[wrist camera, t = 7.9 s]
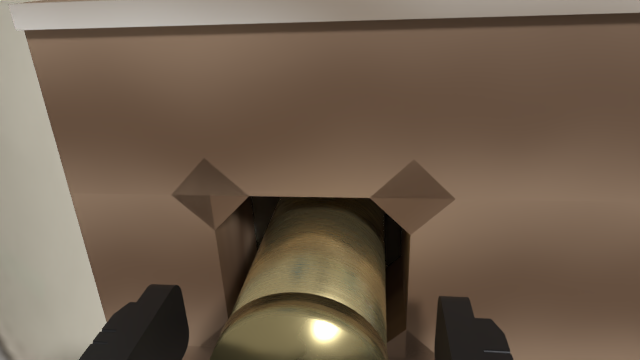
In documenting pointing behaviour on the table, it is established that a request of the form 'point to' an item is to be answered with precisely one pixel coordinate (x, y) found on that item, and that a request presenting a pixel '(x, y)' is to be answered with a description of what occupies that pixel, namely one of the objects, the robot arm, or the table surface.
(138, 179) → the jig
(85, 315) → the table surface
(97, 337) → the robot arm
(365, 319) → the brass cylinder plug
